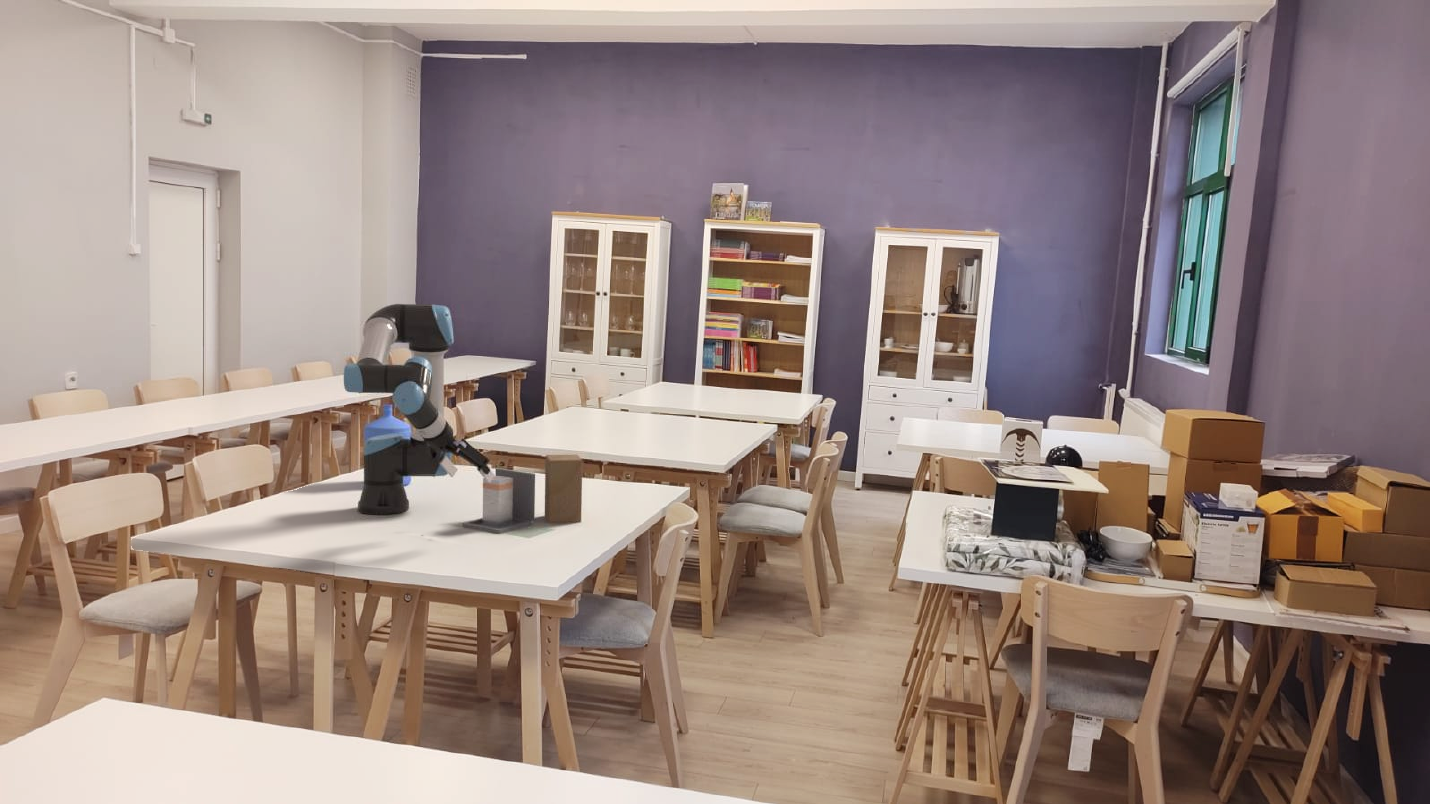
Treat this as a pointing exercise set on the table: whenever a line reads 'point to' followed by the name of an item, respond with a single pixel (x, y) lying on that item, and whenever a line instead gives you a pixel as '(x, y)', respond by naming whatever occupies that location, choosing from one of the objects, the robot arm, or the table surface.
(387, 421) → the water jug
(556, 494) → the wooden block
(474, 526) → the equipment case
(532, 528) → the sage board
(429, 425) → the robot arm
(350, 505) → the table surface
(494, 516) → the block
